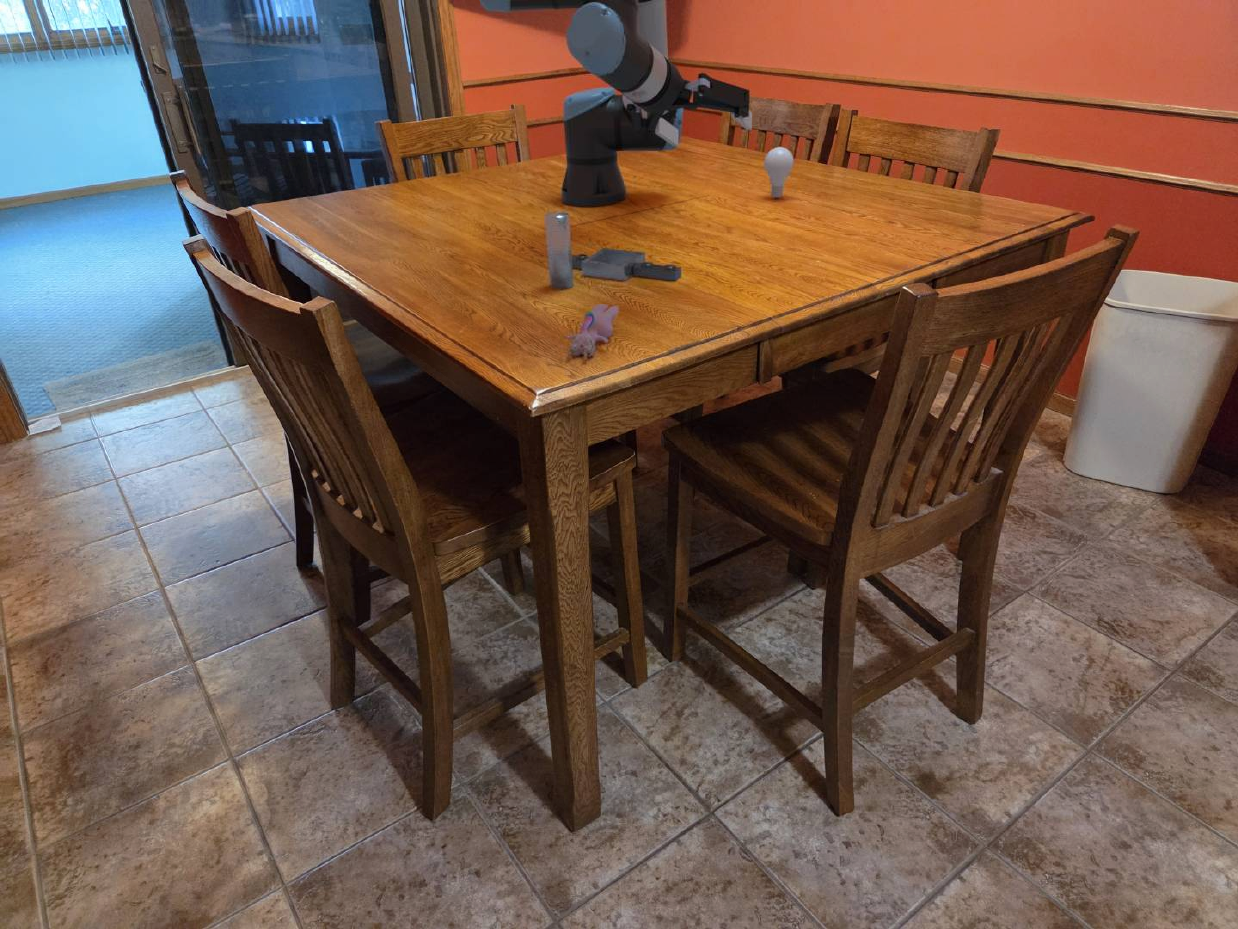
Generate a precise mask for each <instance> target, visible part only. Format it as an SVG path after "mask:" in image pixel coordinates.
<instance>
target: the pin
mask: <svg viewBox="0 0 1238 929" xmlns="http://www.w3.org/2000/svg"><path fill="white" fill-rule="evenodd" d="M543 218H544V224H545V225H544V226H545V238H546V239H545V240H546V250H547V259H548V260H547V262H548V274H549V284H550V288H551V289H554V290H559V289H561V290H568V289H570V288H573V287H574V284H575V283H574V270H573V269H574V268H572V255H573V254H572V244H571V243H572V242H571V229H570V228H571V227H570V214H569V212H566V211H552V212H548V213H545V214H544V215H543Z"/></svg>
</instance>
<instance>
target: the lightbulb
mask: <svg viewBox="0 0 1238 929" xmlns="http://www.w3.org/2000/svg"><path fill="white" fill-rule="evenodd" d="M793 166H794V156H793V154H792V152H791V151H790V150H789V149H788V148H786V147H783V146H778V147H774V148H772V149H770V151H768V152H767V154H766V155H765V158H764V168H765V171H766V173H767V175H768V177H769V181H770V185H771V188H770V189H771V190H770V191H771V192H770V193H771V194H770V196H771V197H772V198H773V199H775V200H778V199H781V198H782V197H783V196H784V195H783V194H784V185H785V182H786V180H787V177H788V175H789V174H790V172H791V171H792V169H793Z"/></svg>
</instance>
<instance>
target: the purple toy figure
mask: <svg viewBox="0 0 1238 929" xmlns="http://www.w3.org/2000/svg"><path fill="white" fill-rule="evenodd" d="M607 308H608V309H607ZM619 309H620V308H619V306H618V305H613V306H610V307H609V306H608V305H607V304H595V306H593V307H592V308H591V310H587V311H586V312H585V316H584V320H583V322H582V323H581V324H580V326H579V331H580V333H578V334H577V333H576V334H572V335H568V336H567V337H566V338H567V340H572V339H573V340H572V343H571V344H570V345H568V346H569V348H568V350H567V354H566V358H565V360H568V361H570V360H573V357H572V356H574V357H579V356H580V355H582V356H583V358H582V361H585V362H587V361H589V358H587V357H590V358H592V357H593V356H594V355H595V353H596V343H597V342H601V341H602V342H604V343H605V344H608V343H609V339H608V338H609V337H610V336H611V335H612V334H613V333H614V328H613V321H614V320H615V319H616V318H617V316H618V314H619ZM571 355H572V356H571ZM591 356H592V357H591Z"/></svg>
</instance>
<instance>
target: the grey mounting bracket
mask: <svg viewBox="0 0 1238 929" xmlns="http://www.w3.org/2000/svg"><path fill="white" fill-rule="evenodd" d="M572 268H573V269H574V270H575V269H576V270H581V274H582V277H590V278H591V277H592V278H599V279H607V280H615V281H621V282H622V281H623V282H626V281H627V280H628V279H630V278H632V277H638V276H642V277H641V278H646V277H649V278H648V279H654V278H656V279H655V280H663V281H671V282H676V281H678V280H679V279H680V278H681V277H682V267H681V266H680V267H679V266H677V265H675V264H664V265H662V264H655V263H653V262H651V261H646V252H640V251H632V250H624V249H617V248H616V249H615V248H606V247H603V248H601V249H599V250H598V251H596V252H594V253H593V254H591V255H590V256H588V254H586V253H585V254H584V253H581V254H572ZM629 277H630V278H629Z"/></svg>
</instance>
